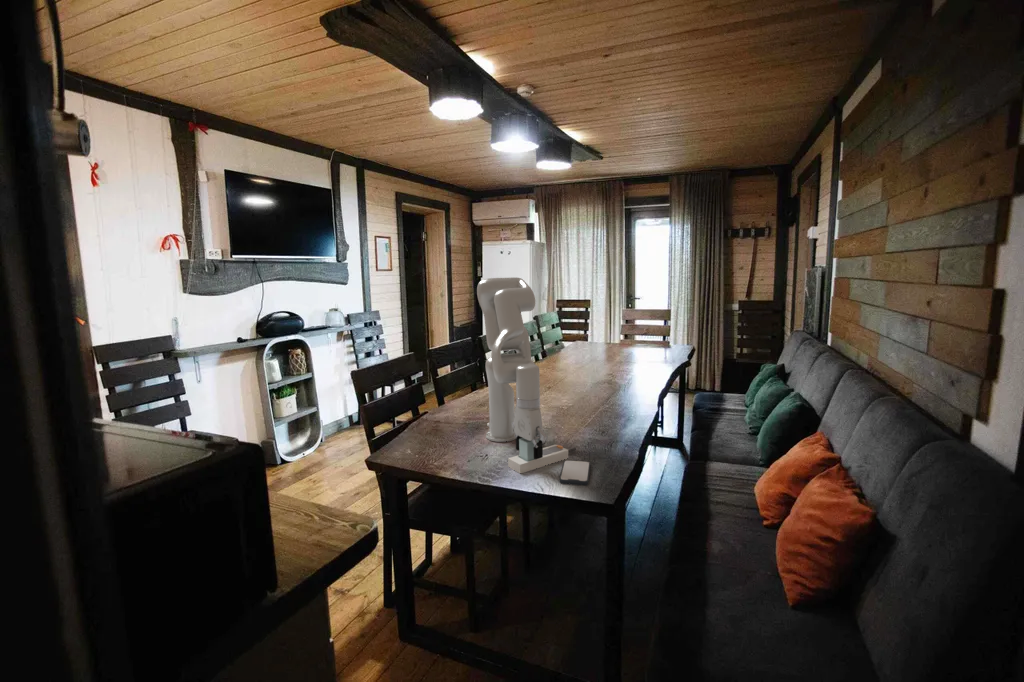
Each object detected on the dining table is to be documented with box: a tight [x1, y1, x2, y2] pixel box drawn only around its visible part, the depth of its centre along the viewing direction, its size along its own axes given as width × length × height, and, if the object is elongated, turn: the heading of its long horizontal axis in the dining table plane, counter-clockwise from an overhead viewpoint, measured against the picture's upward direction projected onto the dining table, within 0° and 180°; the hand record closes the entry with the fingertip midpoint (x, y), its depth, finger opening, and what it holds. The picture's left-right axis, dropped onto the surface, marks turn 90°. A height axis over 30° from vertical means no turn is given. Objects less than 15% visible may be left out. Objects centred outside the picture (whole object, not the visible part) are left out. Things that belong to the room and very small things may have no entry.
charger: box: [518, 438, 539, 462], centre depth 162 cm, size 4×4×8 cm
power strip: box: [507, 444, 577, 474], centre depth 166 cm, size 6×26×4 cm, turn 124°
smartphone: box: [559, 459, 591, 486], centre depth 156 cm, size 9×2×16 cm
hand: (529, 453), depth 162 cm, fingers open, 9 cm apart
